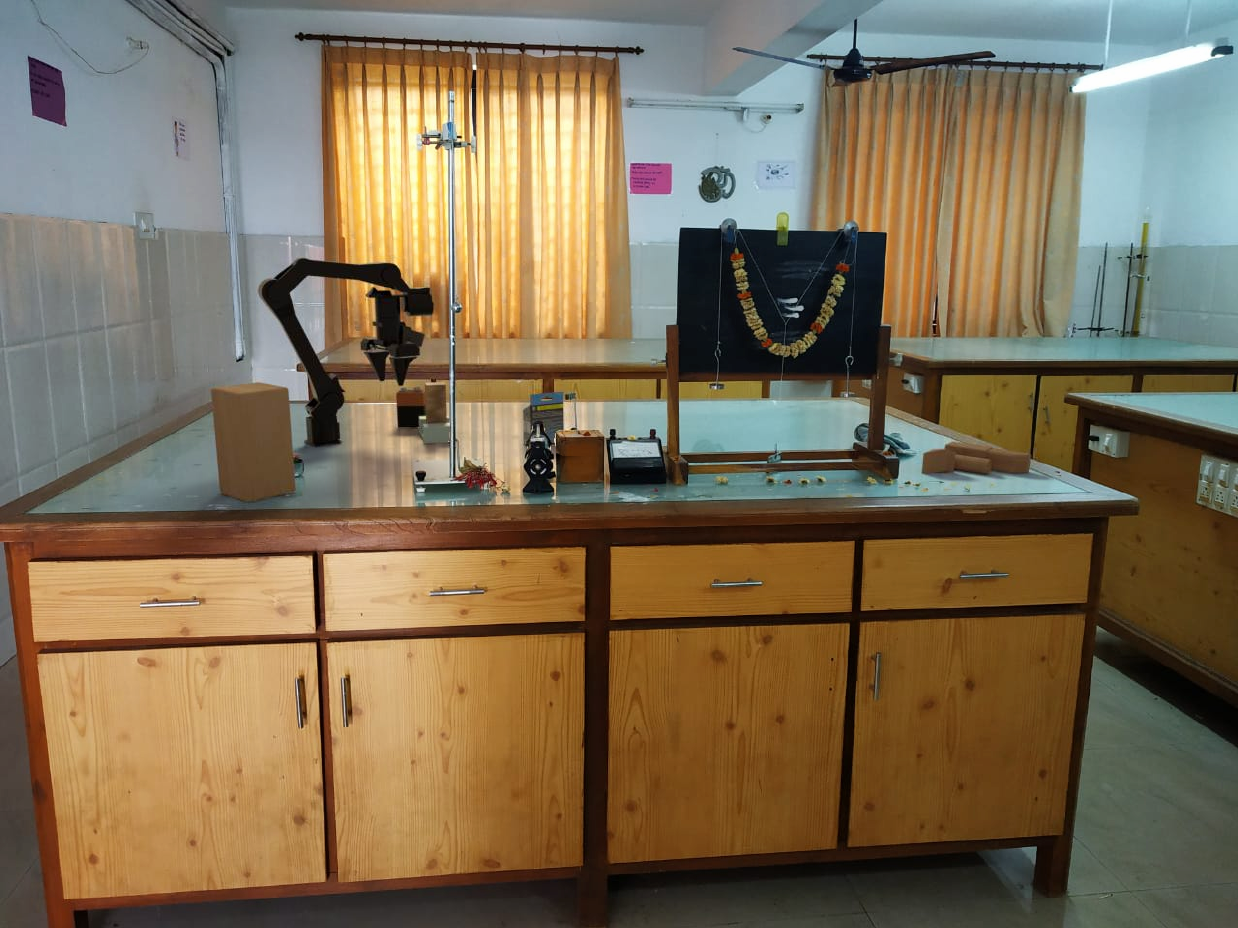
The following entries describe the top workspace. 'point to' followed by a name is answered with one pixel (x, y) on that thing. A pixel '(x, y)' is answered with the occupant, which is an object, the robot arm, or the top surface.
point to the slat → (435, 402)
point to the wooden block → (253, 440)
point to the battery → (410, 406)
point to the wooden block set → (974, 459)
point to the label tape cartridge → (544, 414)
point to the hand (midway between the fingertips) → (391, 383)
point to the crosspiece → (434, 431)
